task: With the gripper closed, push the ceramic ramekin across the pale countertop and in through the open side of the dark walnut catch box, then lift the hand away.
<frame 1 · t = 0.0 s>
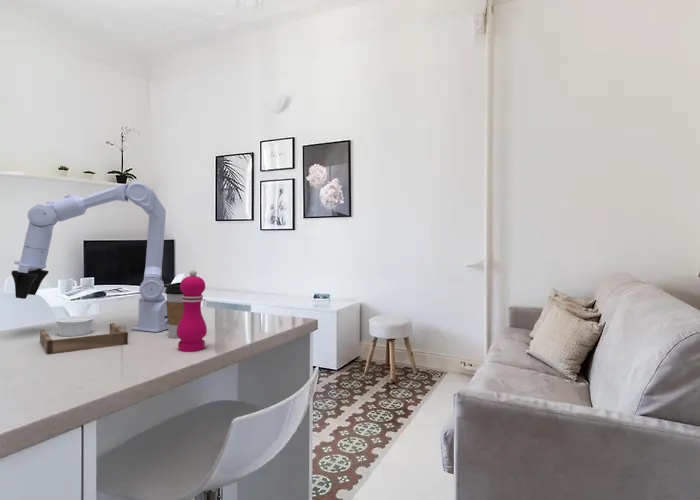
hand: (25, 296, 115), 11 cm above the worktop, tool pointing down, fingers open, 7 cm apart
catch box: (83, 342, 108), on the worktop
pepper mill: (191, 349, 106), on the worktop
coffee cup: (180, 336, 119), on the worktop
ramekin: (74, 334, 118), on the worktop
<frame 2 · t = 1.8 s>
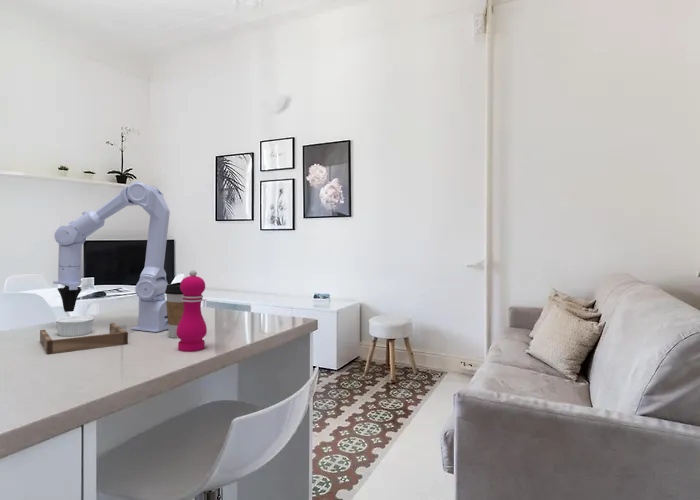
hand: (68, 311, 126), 5 cm above the worktop, tool pointing down, fingers closed
nothing on the worktop moved.
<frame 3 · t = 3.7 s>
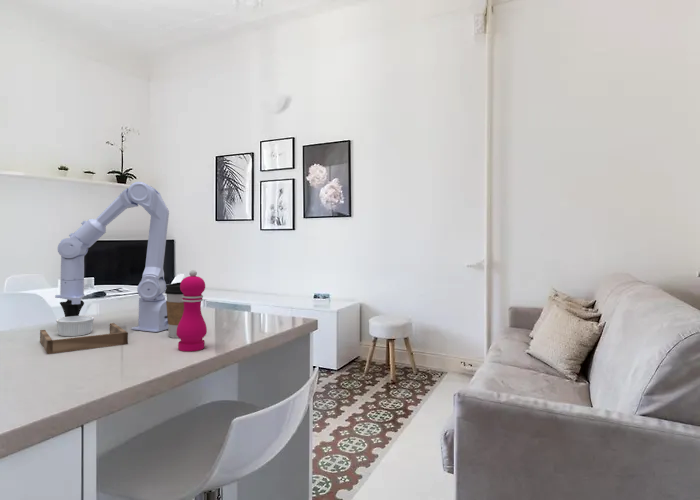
hand: (71, 325, 122), 1 cm above the worktop, tool pointing down, fingers closed
ramekin: (75, 334, 118), on the worktop, touching gripper
everything else where it was.
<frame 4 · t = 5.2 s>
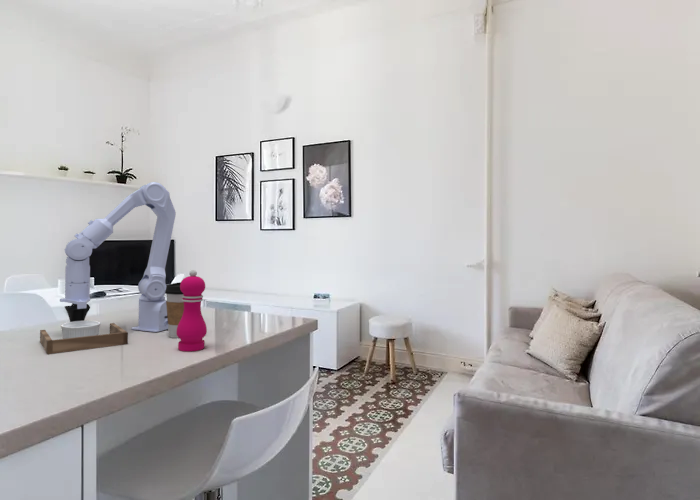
hand: (76, 331, 116), 1 cm above the worktop, tool pointing down, fingers closed
ramekin: (80, 340, 112), on the worktop, touching gripper
everything else where it was.
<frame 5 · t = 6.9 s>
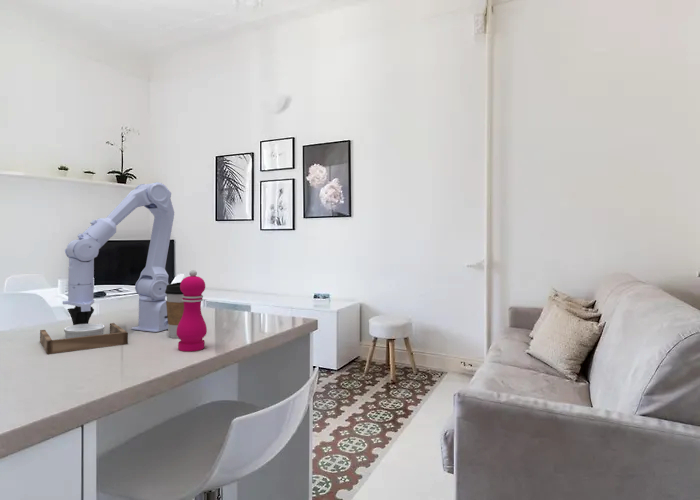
hand: (80, 334, 112), 1 cm above the worktop, tool pointing down, fingers closed
ramekin: (84, 344, 108), on the worktop, touching gripper
everything else where it was.
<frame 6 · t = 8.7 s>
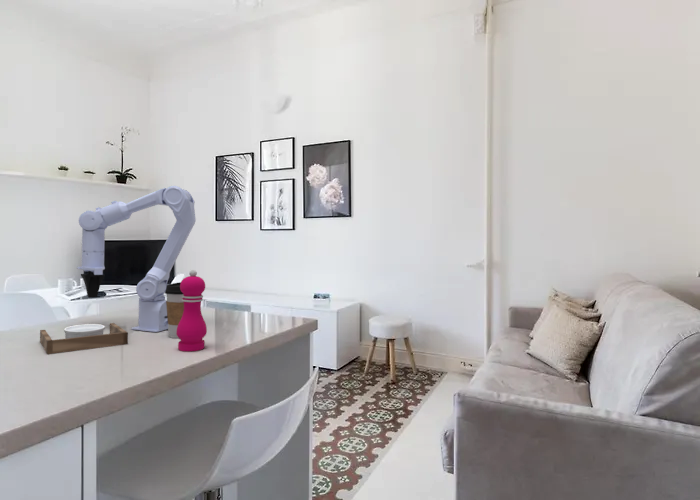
hand: (92, 297, 125), 9 cm above the worktop, tool pointing down, fingers closed
ramekin: (84, 344, 108), on the worktop
everything else where it was.
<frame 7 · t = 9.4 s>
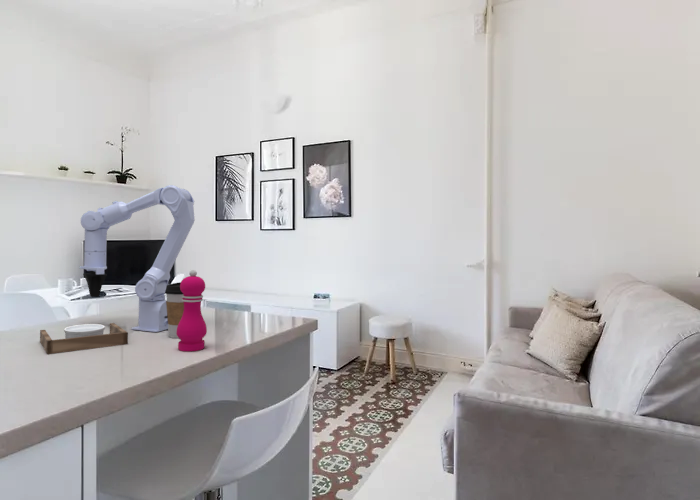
hand: (94, 296, 127), 9 cm above the worktop, tool pointing down, fingers closed
nothing on the worktop moved.
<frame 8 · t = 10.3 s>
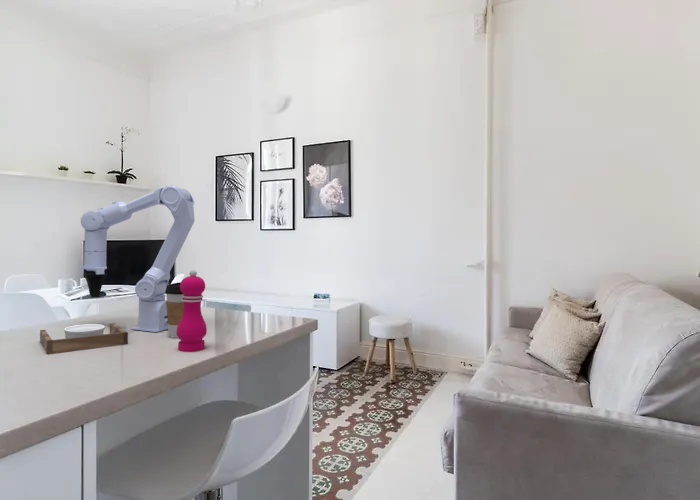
hand: (94, 296, 127), 9 cm above the worktop, tool pointing down, fingers closed
nothing on the worktop moved.
at the end: ramekin 0.9 cm from the catch box (horizontally); ramekin tilted 0°; ramekin moved 14.3 cm from its start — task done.
